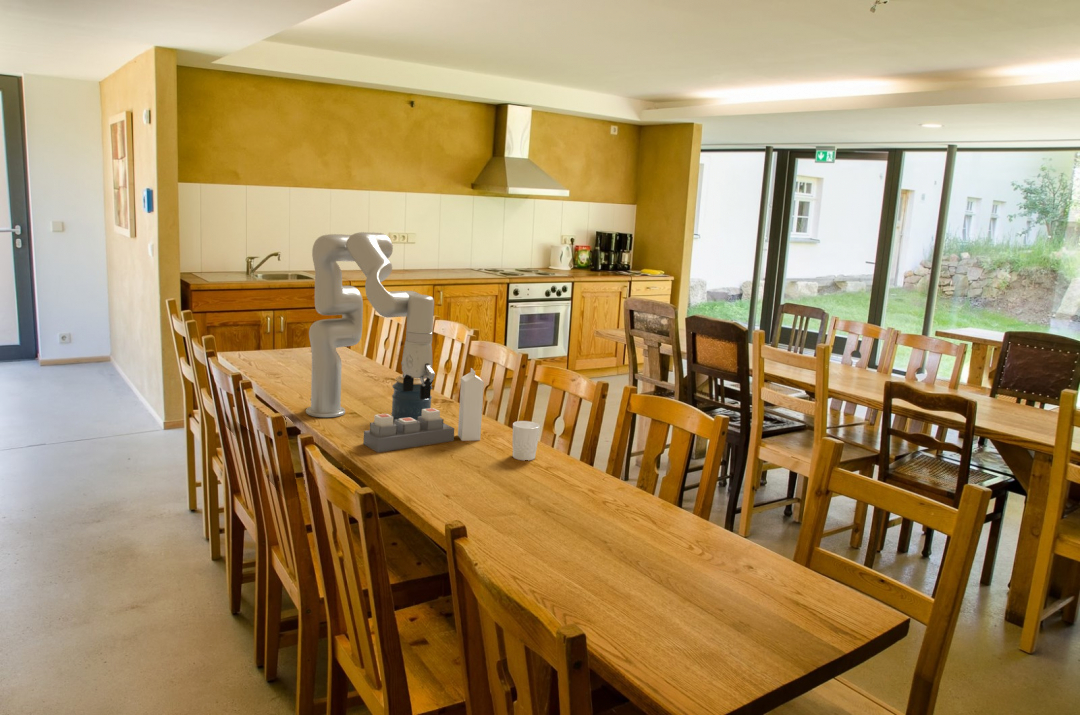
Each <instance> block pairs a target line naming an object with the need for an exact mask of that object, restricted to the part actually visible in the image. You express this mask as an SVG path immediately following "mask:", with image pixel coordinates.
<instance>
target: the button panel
mask: <svg viewBox="0 0 1080 715" xmlns="http://www.w3.org/2000/svg"><path fill="white" fill-rule="evenodd" d="M421 417H422V416H419V417H417V423H409V424H403V423H401V422H399V421H398V419H396V420H394V422H393V426H387V427H378V426H376V425H375V424H374V422H369V429H368V430H364V431H363V443H362V444H363V445H364V446H366V447H368V448H369V449H371V450H373V451H374V452H375V453H384V452H391V451H396V450H403V449H404V450H405V449H409V448H415V447H422V446H428V445H435V444H441V443H442V444H443V443H447V442H454V440H455V427H453V426H452V425H449V424H446V423H444V418H442V417H440V419H439V420H432V421H427V420H425V419H423V418H421Z"/></svg>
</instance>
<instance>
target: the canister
mask: <svg viewBox="0 0 1080 715" xmlns="http://www.w3.org/2000/svg"><path fill="white" fill-rule="evenodd" d="M411 378H412V377H411ZM413 378H414V377H413ZM426 379H427V378H425V379H424V381H425V380H426ZM394 380H395V383H393V385H392V388H393V393H392V394H391V398H392V401H391V404H392V406H391V407H392V408H391V414H390V415H391V416H393V423H394V420H396V419H400V418H408V417H411V418H413V419H415V420H417V417H419V416H422V409H428V408H432V407H431V406H432V398H433V397H432V395H431V394H430V398H429V399H420V386H422V384H421V381H420V378H414V382H413V391H406V392H404V391H403V373H401V374H399V376H397V377H396V378H395V379H394ZM432 389H433V386H432V385H431V390H432Z"/></svg>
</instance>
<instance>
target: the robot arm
mask: <svg viewBox="0 0 1080 715" xmlns="http://www.w3.org/2000/svg"><path fill="white" fill-rule="evenodd" d="M393 247H394V246H393V243H392V240H391V238H390V237H389V236H388V235H386V234H385V233H382V232H364V231H363V232H362V231H361V232H356V233H353V234H341V233H340V234H339V233H337V234H336V233H330V234H324V235H320V236H319V237H317V239H316V240H315V241H314V244H313V245H312V250H311V253H312V255H311V256H312V262H313V266H314V307H315V310H316V312H317V314H320V315H321V316H340V315H341V316H342V317H340V318H327V319H320V320H316V321H314V322H313V323H312V324H311V325H310V327H309V330H308V338H309V342H310V350H311V383H310V384H311V385H310V386H311V387H310V388H311V389H310V390H311V391H310V392H311V395H310V397H311V398H310V406H309V407H307V408H306V409H305V413H306V414H307V415H308V416H311V417H314V418H336V417H341V416H343V415H345V414H346V409H345V408H344V407H343V406H341V404H342V403H341V402H342V401H341V400H342V399H341V398H342V397H341V396H342V363H343V362H342V358H341V357H340V355H339V353H338V351H337V349H336V348H343V347H344V348H345V347H352V346H353V347H354V346H356V345H357V344H358V343H360V341H361V339H362V334H363V315H364V313H363V312H364V310H363V309H364V302H363V301H364V300H363V296H362V294H361V292H360V290H359V289H358V288H357V287H356V286H353V285H343V272H342V269H341V268H340V266H339V264H338V263H337V262H355V263H356V265H357V266H358V267H359V269H360V270H361V272H362V273H363V275H364V276H365V277H366V279H365V284H364V285H365V286H364V288H365V294H366V299H367V300H368V303H369V304H371V306H372V308H373V309H374V311H376V312H377V313H378V314H379V315H380V316H381V317H384V318H404V317H405V318H406V331H405V334H406V335H405V342H404V345H403V352H402V361H400V363H401V371H402V374H403V391H404V392H406V391H413V382H414V378H420V381H421V384H422V386H420V399H429V398H430V395H431V394H432V393H431V391H432V389H431V386H432V385H433V383H434V379H435V376H436V372H435V371H434V370H433V346H432V344H433V334H434V333H433V332H434V313H435V311H434V310H435V299H434V297H433V296H430V295H428V294H421V293H418V292H416V291H414V290H394V291H393V290H392V291H388V290H387V289H386V288H385V287H384V285H383V284H382V282H383V281H385V280H386V279H387V278H388V277H389V276H390V275H391V273H392V271H393V264H392V262H391V261H390V259H389V258H390V257H391V256H392V254H393V250H394V248H393ZM411 377H412V378H411ZM413 377H414V378H413ZM425 378H427V379H426V380H425V381H424V379H425Z"/></svg>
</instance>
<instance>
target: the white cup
mask: <svg viewBox="0 0 1080 715" xmlns="http://www.w3.org/2000/svg"><path fill="white" fill-rule="evenodd" d="M540 426H541V425H540V424H539V423H537V422H536V421H535V422H534V421H531V420H530V421H529V420H518V421H514V422H513V423H512V457H513V458H514V459H516V460H519V461H525V460H528V461H533V460H535V459H536V453H537V449H538V444H539V436H540Z"/></svg>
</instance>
